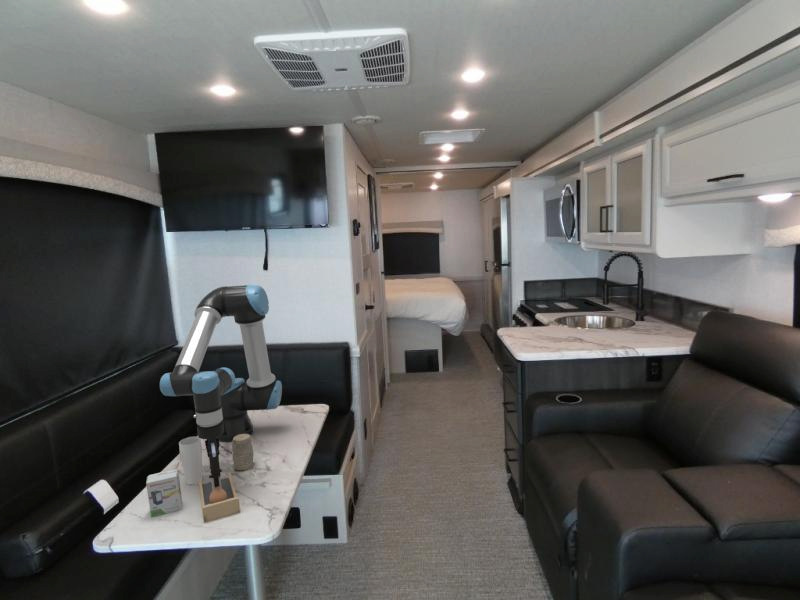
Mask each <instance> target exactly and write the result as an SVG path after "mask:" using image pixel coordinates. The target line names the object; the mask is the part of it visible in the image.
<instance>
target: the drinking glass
mask: <svg viewBox="0 0 800 600" xmlns="http://www.w3.org/2000/svg"><path fill="white" fill-rule="evenodd" d="M178 446H179V447H178V449H179V456H180V461H181V465H182V470H183V473H184V479H185V484H186V485H187V486H188V485H189V486H192V485H193V486H194V485H197V484H199V480H200V479H201V481H203V479H204V478H203V477H204V476H203V450H202V441H201V439H200V438H199V437H198V436H188V437H186V438H185V437H184V438H183V439H181V440H180V441H179V442H178Z"/></svg>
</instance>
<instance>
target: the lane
mask: <svg viewBox="0 0 800 600" xmlns="http://www.w3.org/2000/svg"><path fill="white" fill-rule="evenodd" d="M202 481H203V480H202ZM202 481H201V479H200V480H199V483H198V484H199V493H200V500H201V510H202V511H201V512H202V517H203V523H207V522H210V521H214V520H218V519H221V518H225V517H228V516H231V515H236V514H238V513H241V507H240V498H239V496H237V492H236V489H235V485H234V481H233V477H232V474H231V471H229V472H227V477H225V478H221V485H222V489H223V490H225V492H226V494H227V498H226V500H224V501H221V502H217V503H213V504H211V503H210V500H209V497H210V494H211V492H212V482H211V481H210V482H205V483H203V482H202Z"/></svg>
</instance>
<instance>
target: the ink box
mask: <svg viewBox="0 0 800 600" xmlns="http://www.w3.org/2000/svg"><path fill="white" fill-rule="evenodd" d="M180 483H181V481H180V474H179V469H171V470H167V471H162V472H161V471H160V472H157V473H153V474H149V475H148V476H147V477H146V482H145V484H146V491H147V497H148V504H149V510H150V517H151V518H153V517H157V516H161V515H165V514H168V513H173V512H178V511H181V510H183V498H182V497H183V496H182V489H181V484H180Z"/></svg>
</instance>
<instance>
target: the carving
mask: <svg viewBox="0 0 800 600" xmlns="http://www.w3.org/2000/svg"><path fill="white" fill-rule="evenodd" d="M231 449H232V451H231V452H232V461H233V462H232V463H233V468H234V469H235V470H237V471H248V470H250V469H251V468H252V467H253V466H254V454H255V453H254V446H253V440H252V435H249V434H239V435H237V436H235V437H234V438H233V441H231Z"/></svg>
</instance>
